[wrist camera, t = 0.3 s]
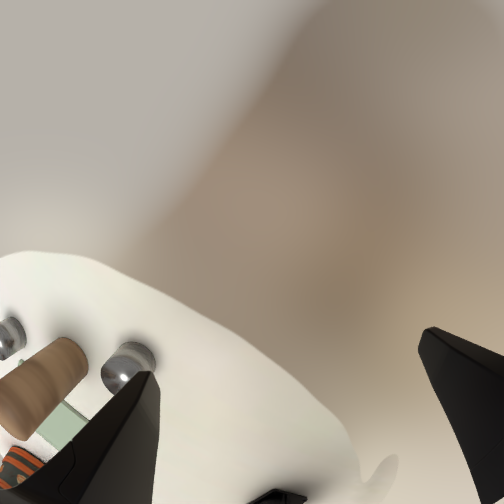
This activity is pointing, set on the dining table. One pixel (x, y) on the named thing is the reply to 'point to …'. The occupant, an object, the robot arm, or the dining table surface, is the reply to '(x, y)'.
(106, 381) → the cylinder
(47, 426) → the mat
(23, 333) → the cylinder
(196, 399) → the dining table surface
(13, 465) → the beer stein
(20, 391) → the walnut post
